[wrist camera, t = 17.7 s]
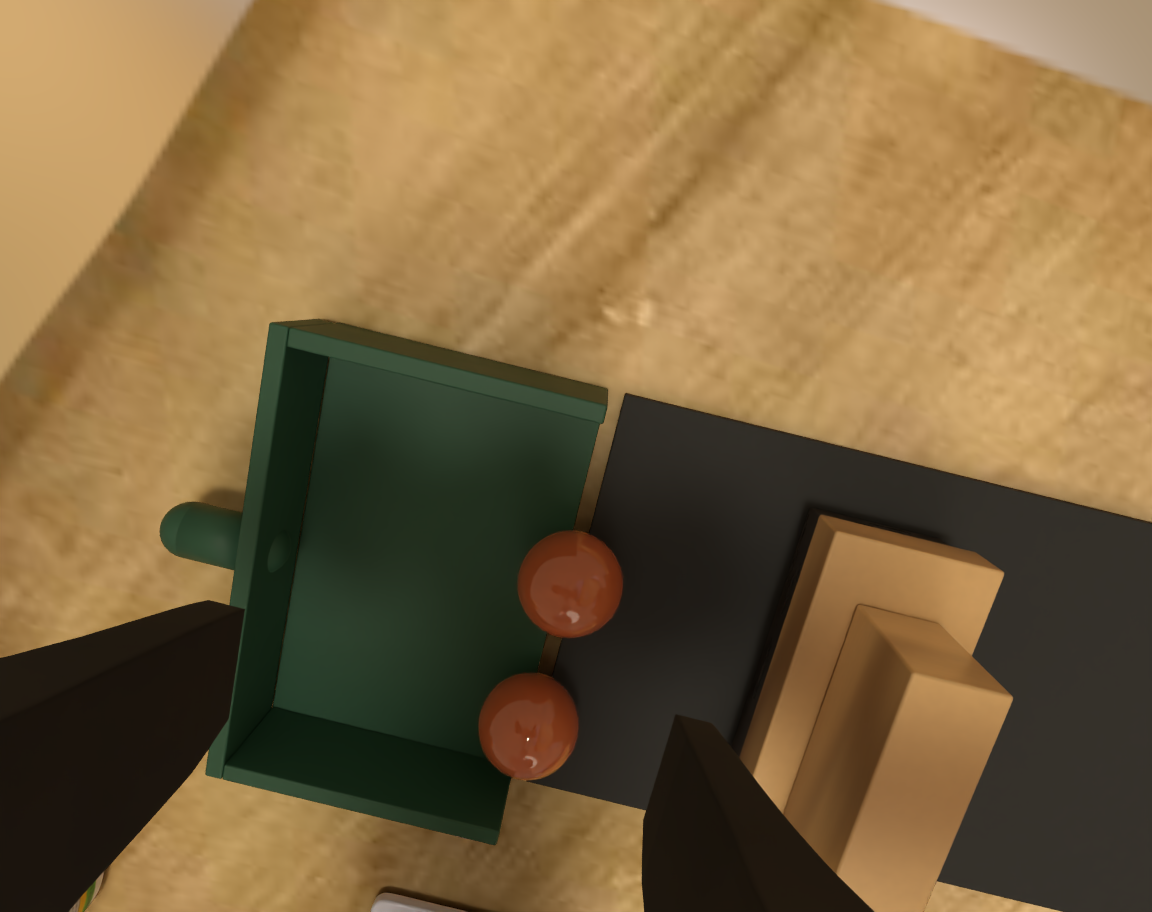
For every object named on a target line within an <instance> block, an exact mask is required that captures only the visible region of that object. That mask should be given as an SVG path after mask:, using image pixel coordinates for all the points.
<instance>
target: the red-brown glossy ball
mask: <svg viewBox="0 0 1152 912" xmlns="http://www.w3.org/2000/svg"><path fill="white" fill-rule="evenodd" d="M477 728H478V738H479V743H480V746H481V749H482V751H483V753H484V755H485V757H486V758H487V759H488V761H489V762H490V763H491V765H493V766H494V767H495V768H496V769H497V770H498V771H499V772H501V773H503V774H504V775H506V776H508V777H511V778H514V779H518V780H537V779H541V778H544V777H546V776H549V775H551V774H552V773H554V772H556V771H557V770H558V769H560V768H561V767H562V766H563V765H564V764H565V763H566V761H567V760H568V759H569V757H570V756H571V754H572V753H573V751H574V749H575V746H576V743H577V740H578V736H579V714H578V710H577V706H576V704H575V702H574V699H573V697H572V696H571V694H570V693H569V691H568V690H567V689H566V688H565V687H564V686H563V685H562V684H561V683H560V682H559V681H557V680H556V679H554V678H553V677H551V676H548V675H546V674H543V673H538V672H521V673H516V674H513V675H511V676H509V677H506V678H505V679H503V680H501V681H500V682H499V683H498V684H496V685H495V686H494V687H493V688H492V689H491V691H490V692H489V693H488V695H487V696H486V698H485V699H484V701H483V703H482V706H481V709H480V712H479V716H478V724H477Z"/></svg>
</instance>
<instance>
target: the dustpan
mask: <svg viewBox="0 0 1152 912" xmlns="http://www.w3.org/2000/svg"><path fill="white" fill-rule="evenodd" d="M328 357H330V358H329V364H328V371H327V377H326V383H325V389H324V395H323V401H322V407H321V414H320V420H319V426H318V432H317V438H316V444H315V450H314V457H313V463H312V469H311V475H310V481H309V487H308V494H307V500H306V506H305V512H304V518H303V524H302V530H301V537H300V543H299V549H298V555H297V561H296V567H295V573H294V580H293V586H292V592H291V598H290V604H289V610H288V616H287V623H286V629H285V635H284V641H283V647H282V653H281V659H280V666H279V672H278V678H277V684H276V690H275V696H274V702H273V708H272V701H273V695H274V689H275V683H276V677H277V671H278V665H279V658H280V652H281V646H282V640H283V634H284V628H285V621H286V615H287V609H288V603H289V597H290V591H291V584H292V578H293V572H294V566H295V560H296V554H297V548H298V541H299V535H300V529H301V523H302V517H303V511H304V504H305V498H306V492H307V486H308V480H309V474H310V467H311V461H312V455H313V449H314V443H315V437H316V430H317V424H318V418H319V412H320V406H321V400H322V394H323V387H324V381H325V375H326V369H327V363H328ZM607 403H608V389H607V388H603V387H599V386H595V385H591V384H587V383H583V382H578V381H574V380H570V379H566V378H562V377H558V376H554V375H550V374H546V373H542V372H538V371H534V370H530V369H526V368H522V367H518V366H514V365H509V364H505V363H501V362H497V361H493V360H489V359H485V358H481V357H477V356H473V355H469V354H465V353H461V352H457V351H453V350H449V349H445V348H440V347H436V346H432V345H428V344H424V343H420V342H416V341H412V340H408V339H404V338H400V337H396V336H392V335H388V334H384V333H380V332H376V331H371V330H367V329H363V328H359V327H355V326H351V325H347V324H343V323H332V322H329V321H325V320H321V319H312V320H298V321H284V322H272V323H270V324H269V331H268V338H267V345H266V352H265V359H264V366H263V373H262V380H261V387H260V394H259V401H258V408H257V415H256V422H255V429H254V436H253V443H252V450H251V457H250V465H249V472H248V479H247V486H246V493H245V500H244V507H243V513H242V512H238V511H234V510H230V509H226V508H221V507H217V506H213V505H209V504H205V503H201V502H186V503H182V504H179V505H177V506H175V507H174V508H172V509H171V510H170V511H169V512H168V513H167V514H166V515H165V516H164V518H163V520H162V522H161V526H160V537H161V541H162V543H163V544H164V546H165V547H166V548H167V549H168V550H169V551H170V552H171V553H173V554H174V555H176V556H179V557H182V558H186V559H190V560H194V561H198V562H203V563H207V564H211V565H215V566H219V567H223V568H227V569H231V570H234V577H233V584H232V591H231V598H230V606H234V607H238V608H243V609H245V612H244V619H243V626H242V633H241V639H240V646H239V653H238V660H237V666H236V673H235V680H234V687H233V693H232V700H231V707H230V714H229V719H228V721H227V722H226V724H225V725H224V727H223V728H222V730H221V731H220V733H219V734H218V736H217V737H216V739H215V740H214V742H213V743H212V745H211V746H210V748H209V752H208V759H207V766H206V773H205V774H206V775H207V776H211V777H215V778H219V779H221V778H222V777H223V779H224V780H227V781H231V782H236V783H240V784H244V785H248V786H252V787H256V788H260V789H264V790H269V791H273V792H277V793H281V794H285V795H289V796H293V797H297V798H302V799H306V800H310V801H314V802H318V803H322V804H326V805H330V806H335V807H339V808H343V809H347V810H351V811H355V812H359V813H363V814H368V815H372V816H376V817H380V818H384V819H388V820H392V821H396V822H401V823H405V824H409V825H413V826H417V827H421V828H425V829H429V830H434V831H438V832H442V833H446V834H450V835H454V836H458V837H462V838H467V839H471V840H475V841H479V842H483V843H487V844H491V845H496V844H497V841H498V837H499V833H500V829H501V824H502V819H503V814H504V809H505V805H506V800H507V795H508V790H509V785H510V781H511V777H508V776H506V775H504V774H503V773H501V772H499V771H498V770H497V769H496V768H495V767H494V766H493V765H491V763H490V762H489V761H488V759H487V758H486V757H485V755H484V753H483V751H482V749H481V746H480V743H479V738H478V728H477V724H478V716H479V712H480V709H481V706H482V703H483V701H484V699H485V698H486V696H487V695H488V693H489V692H490V691H491V689H492V688H493V687H494V686H495V685H496V684H498V683H499V682H500V681H501V680H503V679H505V678H506V677H509V676H511V675H513V674H516V673H521V672H537V671H538V667H539V663H540V659H541V655H542V651H543V647H544V643H545V639H546V635H547V633H545V632H544V631H542V630H540V629H539V628H538V627H537V626H535V625H534V624H533V623H532V622H531V621H530V620H529V618H528V617H527V616H526V614H525V613H524V611H523V609H522V607H521V604H520V602H519V598H518V594H517V575H518V570H519V567H520V564H521V562H522V560H523V558H524V556H525V555H526V553H527V552H528V550H529V549H530V548H531V547H532V546H533V545H534V544H535V543H536V542H537V541H539V540H540V539H541V538H543V537H545V536H547V535H549V534H552V533H554V532H558V531H563V530H573V528H574V524H575V520H576V516H577V512H578V508H579V504H580V500H581V496H582V492H583V488H584V484H585V481H586V477H587V473H588V469H589V465H590V461H591V457H592V453H593V449H594V445H595V441H596V437H597V433H598V429H599V425H600V424H603V422H604V419H605V415H606V411H607Z"/></svg>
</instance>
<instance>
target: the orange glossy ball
mask: <svg viewBox="0 0 1152 912" xmlns="http://www.w3.org/2000/svg"><path fill="white" fill-rule="evenodd" d="M623 588H624V580H623V573H622V569H621V566H620V563H619V561H618V559H617V557H616V556H615V554H614V552H613V551H612V550H611V549H610V547H609V546H608V545H606V544H605V543H604V542H603V541H602V540H600V539H599V538H597V537H596V536H594V535H592V534H589V533H586V532H583V531H578V530H563V531H558V532H554V533H552V534H549V535H547V536H545V537H543V538H541V539H540V540H539V541H537V542H536V543H535V544H534V545H533V546H532V547H531V548H530V549H529V550H528V552H527V553H526V555H525V556H524V558H523V560H522V562H521V564H520V567H519V570H518V575H517V594H518V598H519V602H520V604H521V607H522V609H523V611H524V613H525V614H526V616H527V617H528V618H529V620H530V621H531V622H532V623H533V624H534V625H535V626H537V627H538V628H539V629H540V630H542V631H544V632H545V633H548V634H550V635H552V636H556V637H560V638H567V639H571V638H580V637H585V636H588V635H590V634H592V633H595V632H597V631H598V630H600V629H601V628H603V627H604V626H605V625H606V624H607V623H608V622H609V621H610V620H611V619H612V617H613V616H614V615H615V613H616V611H617V609H618V608H619V605H620V603H621V600H622V596H623Z"/></svg>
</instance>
